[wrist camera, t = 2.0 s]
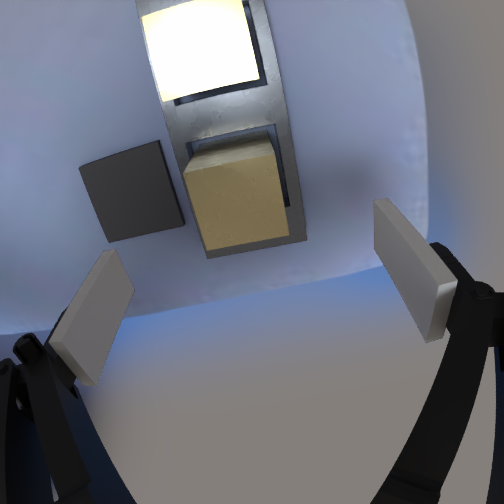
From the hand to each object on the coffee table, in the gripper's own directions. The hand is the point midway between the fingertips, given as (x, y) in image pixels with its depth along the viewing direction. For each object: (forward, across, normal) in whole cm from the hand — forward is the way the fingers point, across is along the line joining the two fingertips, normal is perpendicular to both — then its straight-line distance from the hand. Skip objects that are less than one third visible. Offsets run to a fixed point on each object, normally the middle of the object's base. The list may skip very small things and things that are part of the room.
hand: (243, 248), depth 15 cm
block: (+13, 0, +10) cm, 16 cm away
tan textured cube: (+13, 0, 0) cm, 13 cm away
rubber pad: (+13, -10, 0) cm, 16 cm away
